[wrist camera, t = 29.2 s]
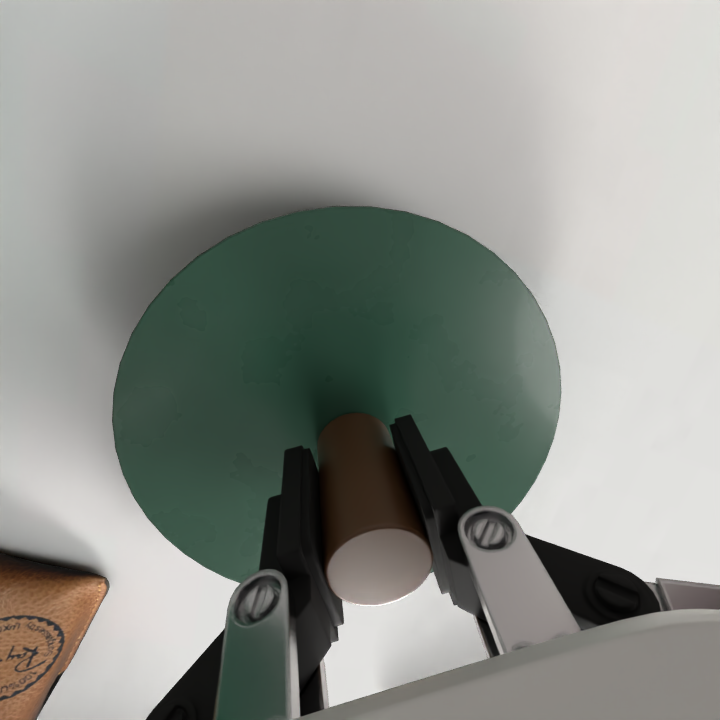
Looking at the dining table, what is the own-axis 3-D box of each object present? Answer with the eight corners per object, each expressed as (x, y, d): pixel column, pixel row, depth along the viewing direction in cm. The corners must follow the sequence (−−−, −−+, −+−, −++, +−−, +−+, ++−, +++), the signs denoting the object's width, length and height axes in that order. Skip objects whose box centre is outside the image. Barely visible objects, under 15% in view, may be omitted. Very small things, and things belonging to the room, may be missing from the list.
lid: (188, 598, 17) (126, 803, 11) (56, 225, 11) (-235, 243, 5) (521, 542, 18) (620, 695, 12) (571, 190, 12) (806, 174, 6)
